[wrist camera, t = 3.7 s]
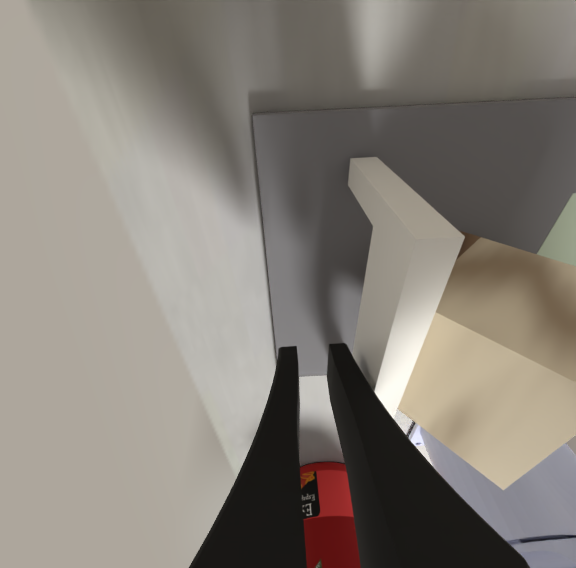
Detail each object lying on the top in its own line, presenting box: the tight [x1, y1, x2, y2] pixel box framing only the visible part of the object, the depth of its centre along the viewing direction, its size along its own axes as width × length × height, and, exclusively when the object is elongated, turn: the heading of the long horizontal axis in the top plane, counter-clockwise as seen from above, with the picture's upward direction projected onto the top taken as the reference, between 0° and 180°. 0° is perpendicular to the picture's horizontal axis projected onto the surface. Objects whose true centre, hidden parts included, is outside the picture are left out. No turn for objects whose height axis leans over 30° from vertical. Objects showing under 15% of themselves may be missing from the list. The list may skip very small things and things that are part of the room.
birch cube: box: [398, 230, 576, 490], centre depth 12 cm, size 6×6×6 cm
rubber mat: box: [252, 97, 576, 377], centre depth 15 cm, size 26×16×1 cm, turn 92°
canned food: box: [300, 462, 361, 568], centre depth 29 cm, size 8×8×11 cm
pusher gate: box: [348, 157, 465, 419], centre depth 12 cm, size 1×13×6 cm, turn 2°
